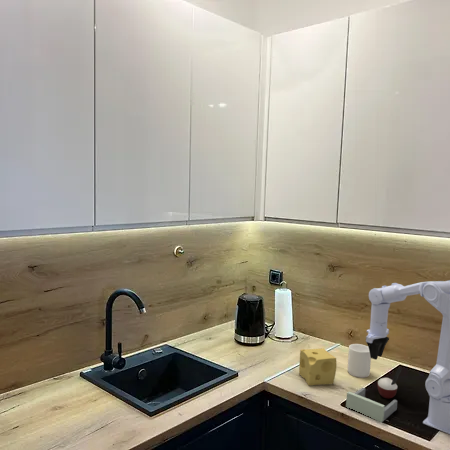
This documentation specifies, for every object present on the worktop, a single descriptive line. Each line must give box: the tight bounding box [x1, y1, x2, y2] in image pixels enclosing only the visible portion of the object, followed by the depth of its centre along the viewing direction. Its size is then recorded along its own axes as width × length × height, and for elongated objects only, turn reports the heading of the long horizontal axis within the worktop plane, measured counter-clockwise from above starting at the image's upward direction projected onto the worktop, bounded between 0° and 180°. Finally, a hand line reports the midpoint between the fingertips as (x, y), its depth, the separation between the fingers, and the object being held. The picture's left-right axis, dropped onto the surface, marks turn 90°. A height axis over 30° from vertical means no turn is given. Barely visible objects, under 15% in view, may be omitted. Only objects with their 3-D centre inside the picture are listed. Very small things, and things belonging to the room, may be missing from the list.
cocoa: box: [376, 367, 403, 399], centre depth 148 cm, size 10×6×12 cm, turn 5°
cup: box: [347, 343, 372, 379], centre depth 168 cm, size 8×12×10 cm
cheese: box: [298, 348, 337, 387], centre depth 160 cm, size 10×11×10 cm
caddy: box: [345, 387, 398, 423], centre depth 140 cm, size 12×11×5 cm
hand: (376, 357), depth 156 cm, fingers open, 3 cm apart
